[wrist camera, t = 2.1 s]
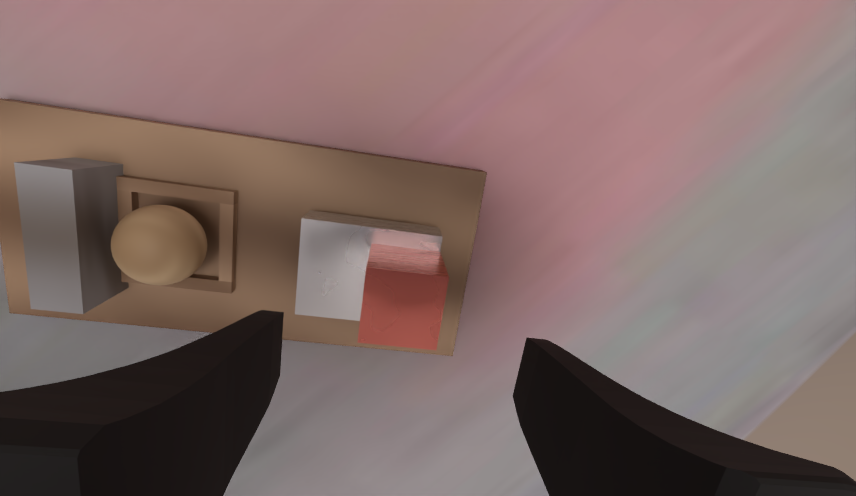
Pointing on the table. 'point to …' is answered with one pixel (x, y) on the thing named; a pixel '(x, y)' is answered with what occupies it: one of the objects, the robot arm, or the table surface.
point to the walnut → (159, 245)
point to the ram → (373, 277)
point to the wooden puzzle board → (202, 218)
